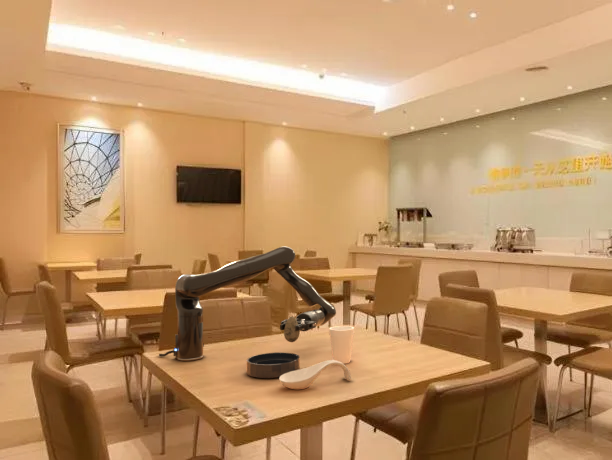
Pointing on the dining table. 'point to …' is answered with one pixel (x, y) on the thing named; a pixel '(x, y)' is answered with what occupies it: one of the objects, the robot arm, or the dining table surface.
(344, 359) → the foam cup
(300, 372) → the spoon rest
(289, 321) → the decorative egg
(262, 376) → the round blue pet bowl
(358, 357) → the dining table surface
